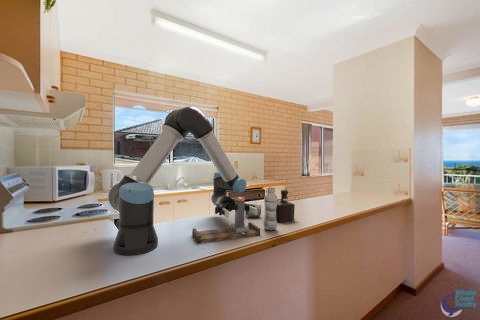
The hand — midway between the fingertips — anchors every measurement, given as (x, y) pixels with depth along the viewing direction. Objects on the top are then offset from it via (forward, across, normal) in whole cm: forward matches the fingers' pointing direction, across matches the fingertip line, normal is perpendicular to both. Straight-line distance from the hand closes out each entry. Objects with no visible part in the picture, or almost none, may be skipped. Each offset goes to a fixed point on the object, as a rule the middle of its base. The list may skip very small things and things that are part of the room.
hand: (242, 213), depth 99 cm
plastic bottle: (-3, -16, -10) cm, 19 cm away
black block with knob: (-14, -31, -10) cm, 36 cm away
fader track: (-3, +6, -10) cm, 12 cm away
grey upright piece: (-3, 0, -8) cm, 9 cm away
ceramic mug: (-29, -19, -10) cm, 36 cm away
